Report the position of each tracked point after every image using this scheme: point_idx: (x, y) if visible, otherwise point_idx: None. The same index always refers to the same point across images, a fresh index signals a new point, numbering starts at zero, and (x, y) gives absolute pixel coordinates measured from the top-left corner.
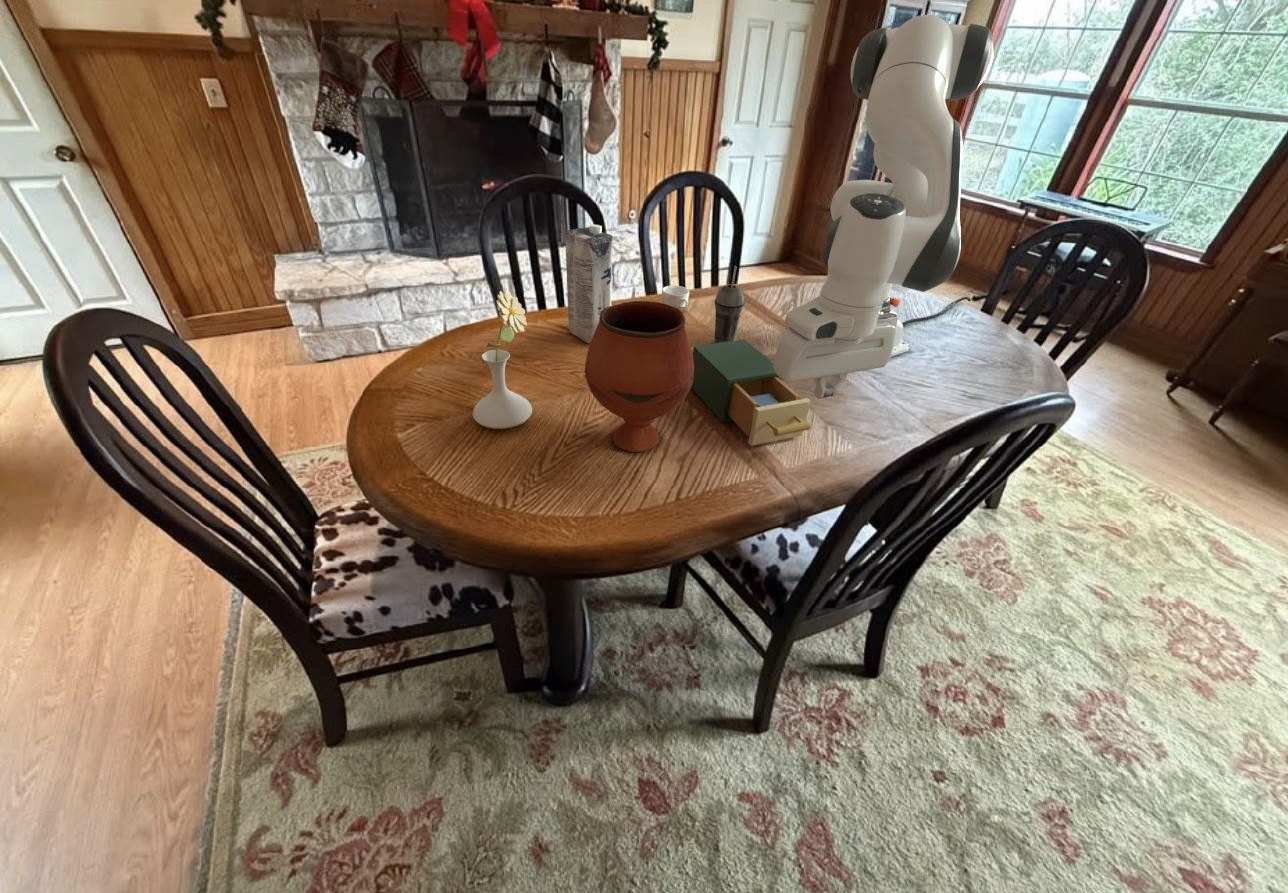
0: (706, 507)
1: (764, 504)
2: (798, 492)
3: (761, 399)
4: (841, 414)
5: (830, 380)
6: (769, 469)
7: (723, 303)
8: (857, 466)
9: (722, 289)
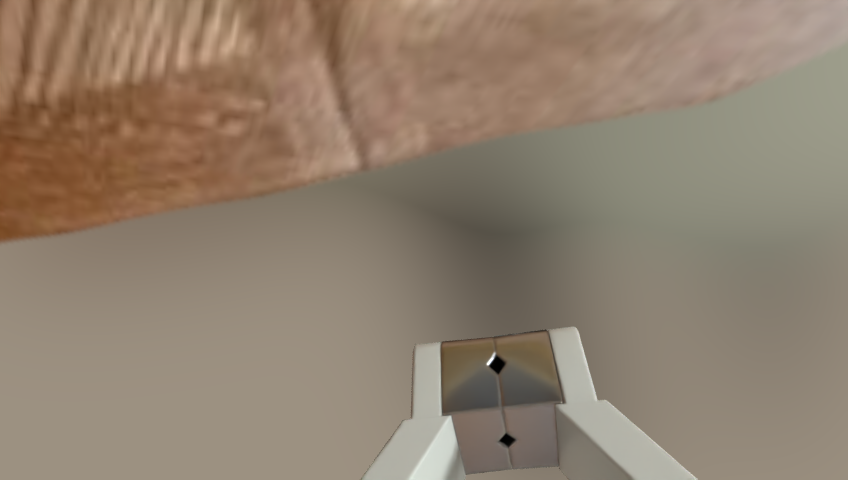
0: (38, 180)
1: (247, 194)
2: (390, 158)
3: None
4: None
5: (581, 444)
6: (317, 6)
7: None
8: (737, 45)
9: None
